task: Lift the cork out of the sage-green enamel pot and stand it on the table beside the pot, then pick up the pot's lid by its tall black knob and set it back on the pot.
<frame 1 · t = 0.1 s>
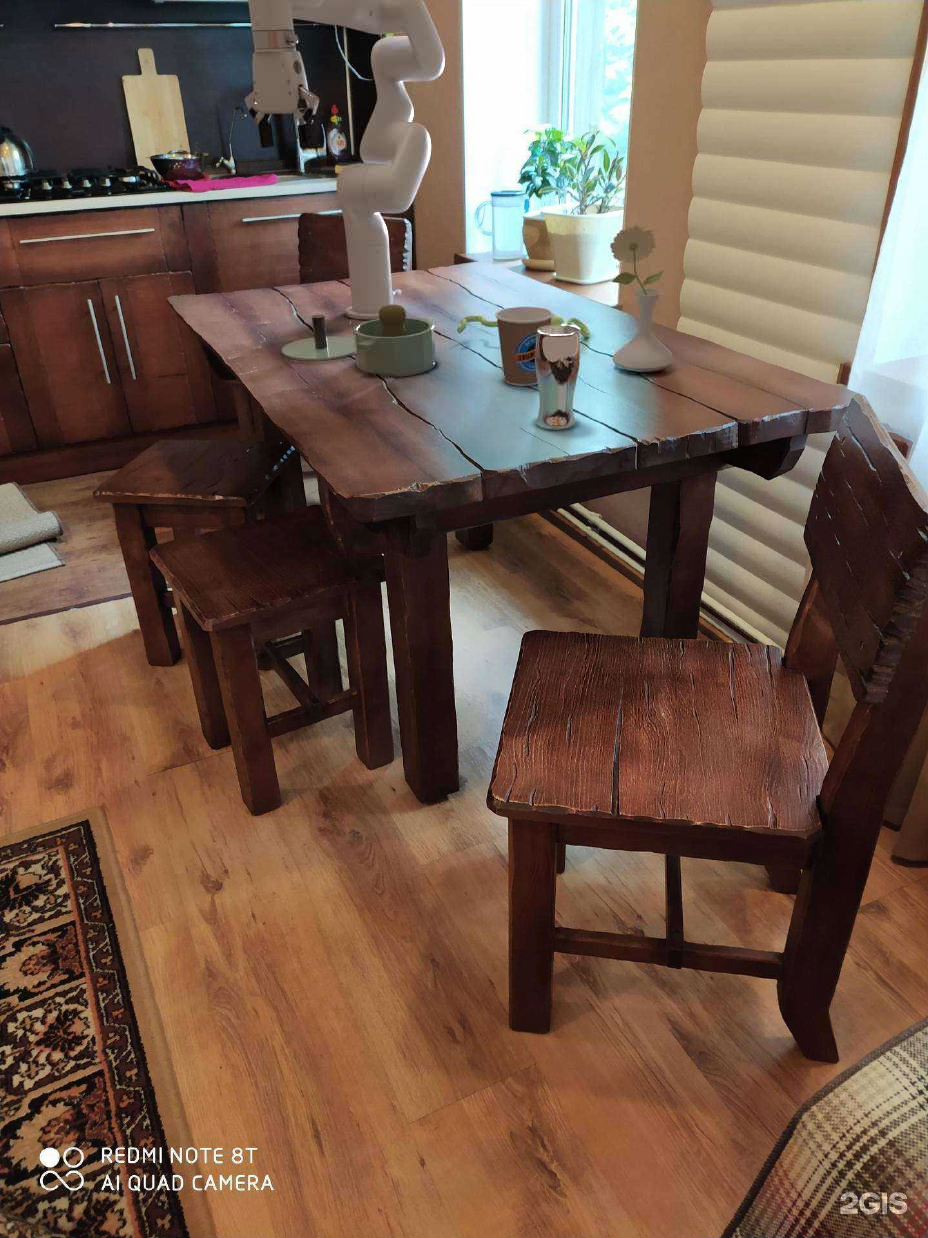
hand: (286, 147, 174), 37 cm above the table, tool pointing down, fingers open, 9 cm apart
cork: (396, 364, 176), resting on pot
beer glass: (555, 424, 146), on the table
pot: (396, 365, 176), on the table
coffee cup: (523, 381, 166), on the table
lid: (321, 349, 185), point 1 cm above the table
flower in vase: (637, 368, 170), on the table
figurine: (522, 342, 187), on the table
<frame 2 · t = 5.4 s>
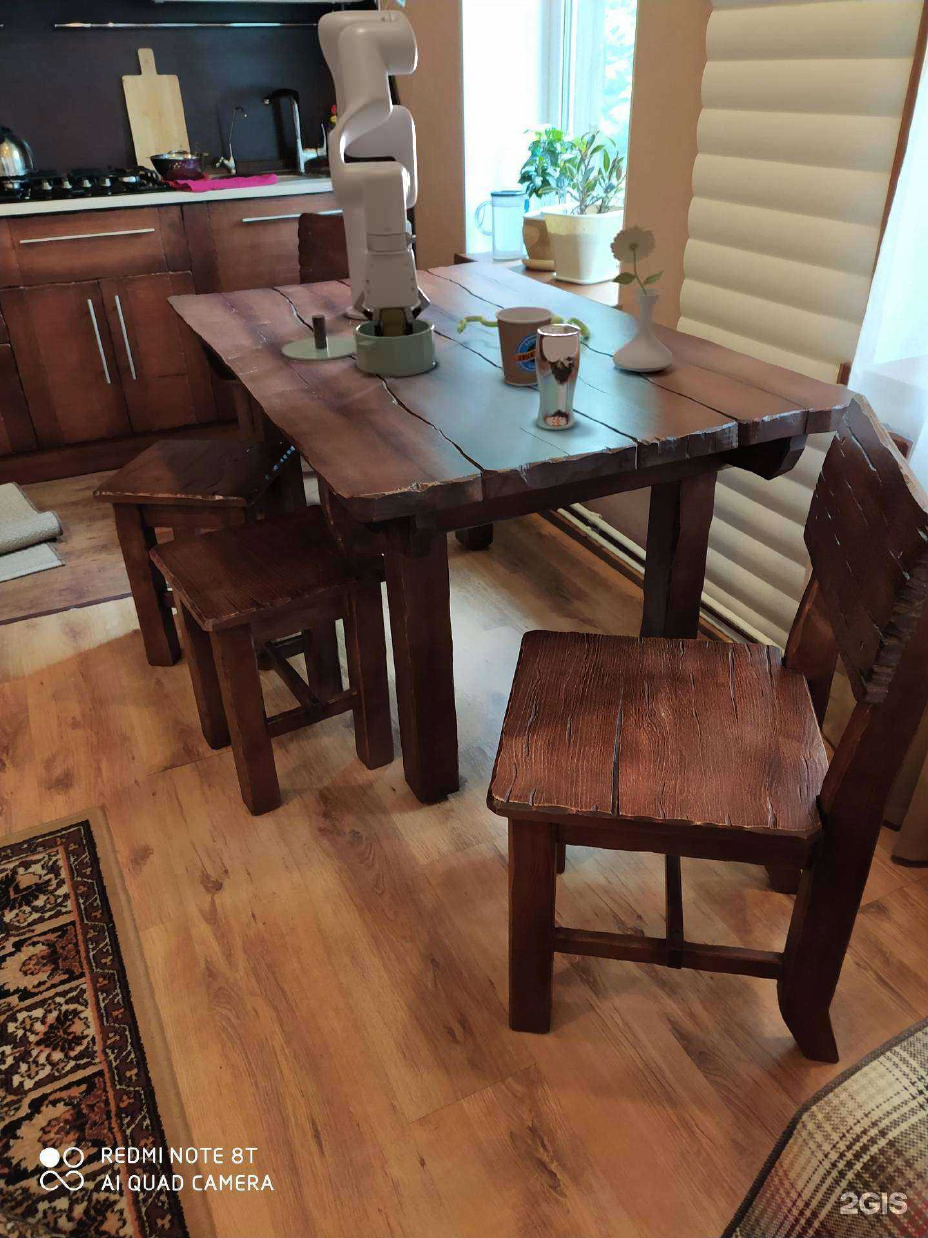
hand: (394, 342, 174), 4 cm above the table, tool pointing down, fingers closed on cork, 4 cm apart
cork: (396, 364, 176), resting on pot, touching gripper
everything else where it was.
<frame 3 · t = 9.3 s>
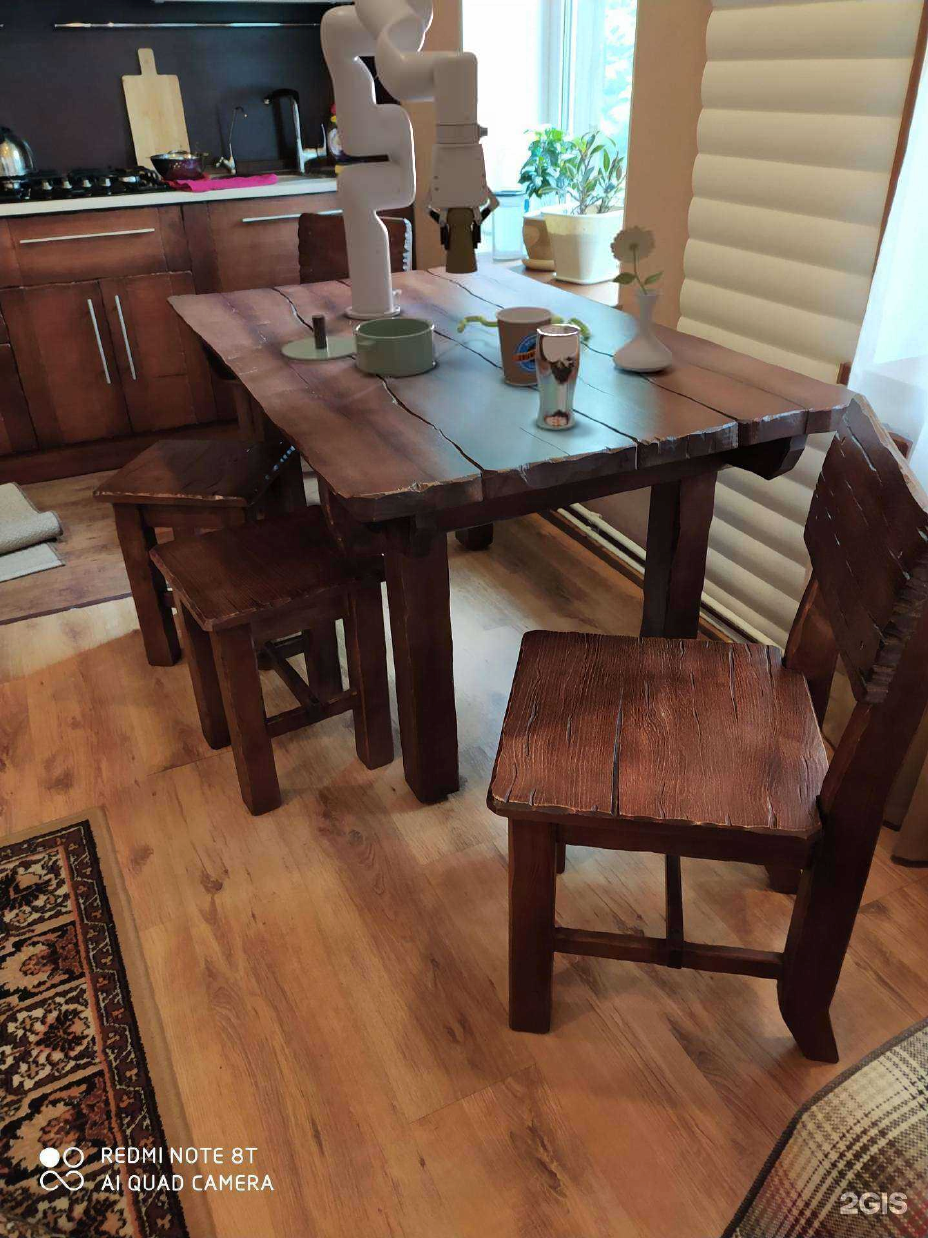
hand: (460, 247, 165), 21 cm above the table, tool pointing down, fingers closed on cork, 4 cm apart
cork: (461, 271, 167), point 17 cm above the table, touching gripper
everything else where it was.
when the fingers open (4 cm above the table, at t = 13.3 s): cork stays where it is, on the table.
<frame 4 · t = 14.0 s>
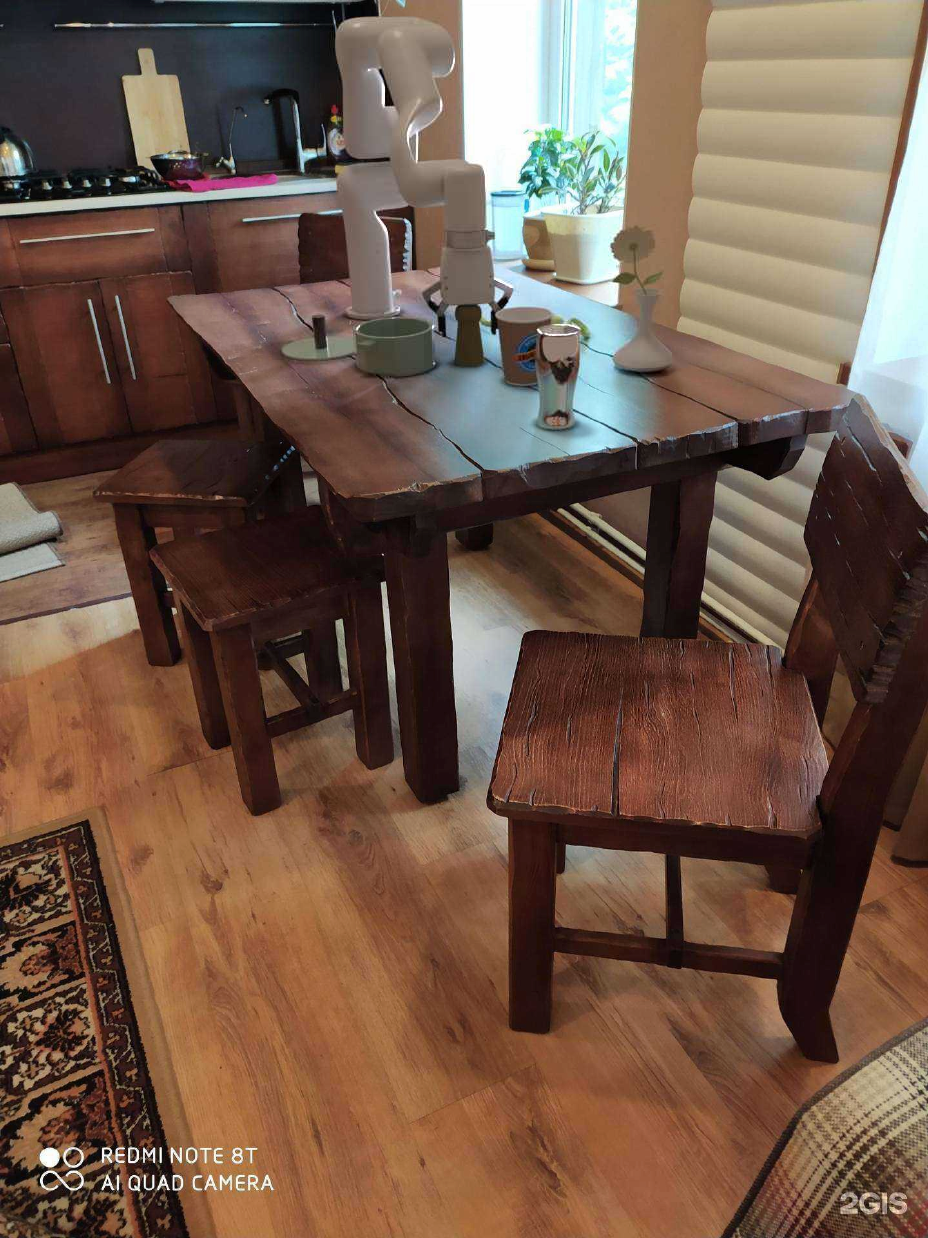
hand: (468, 334, 174), 5 cm above the table, tool pointing down, fingers open, 9 cm apart
cork: (469, 362, 176), on the table
everything else where it was.
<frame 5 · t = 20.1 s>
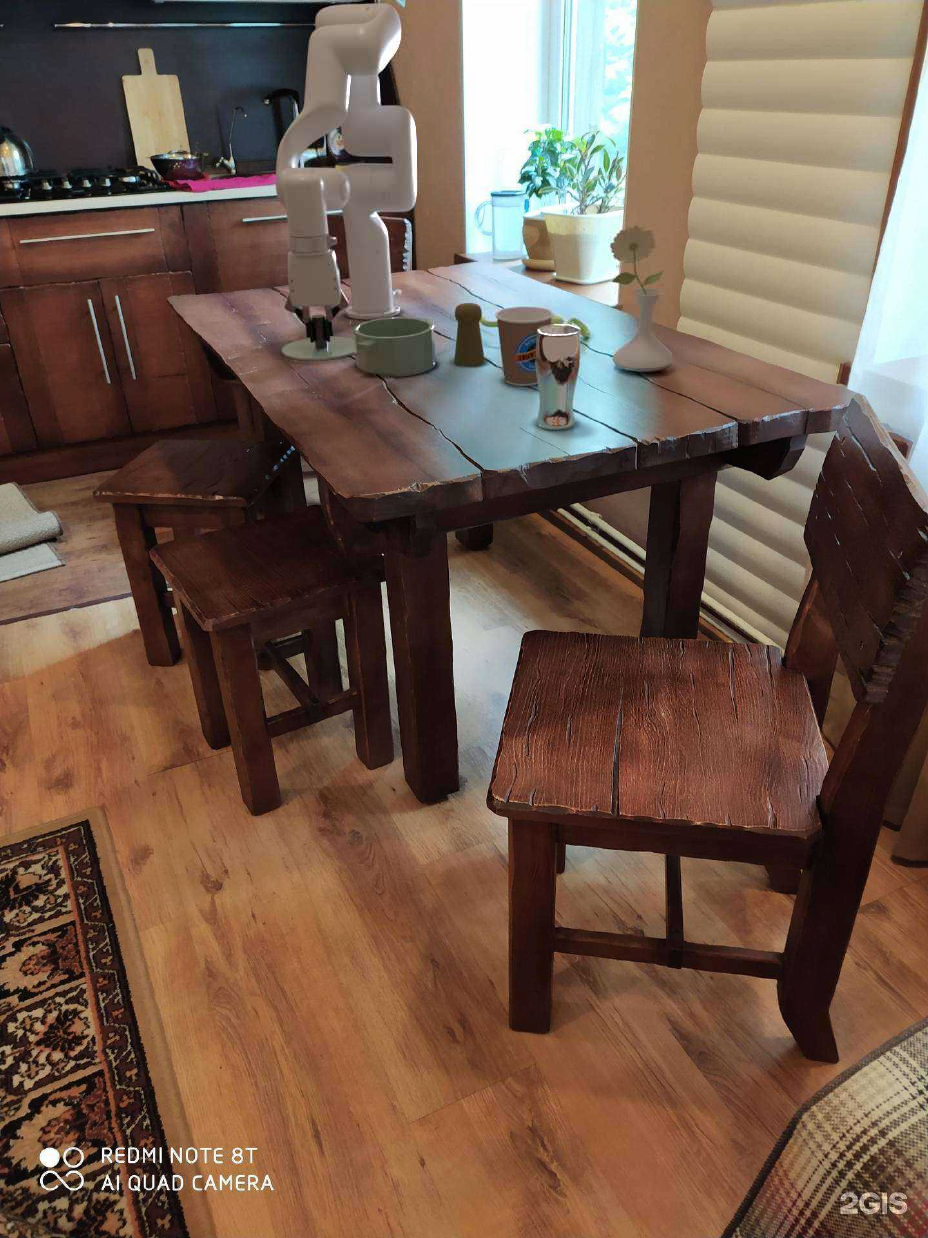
hand: (320, 339, 184), 3 cm above the table, tool pointing down, fingers closed on lid, 2 cm apart
lid: (321, 349, 185), point 1 cm above the table, touching gripper
everything else where it was.
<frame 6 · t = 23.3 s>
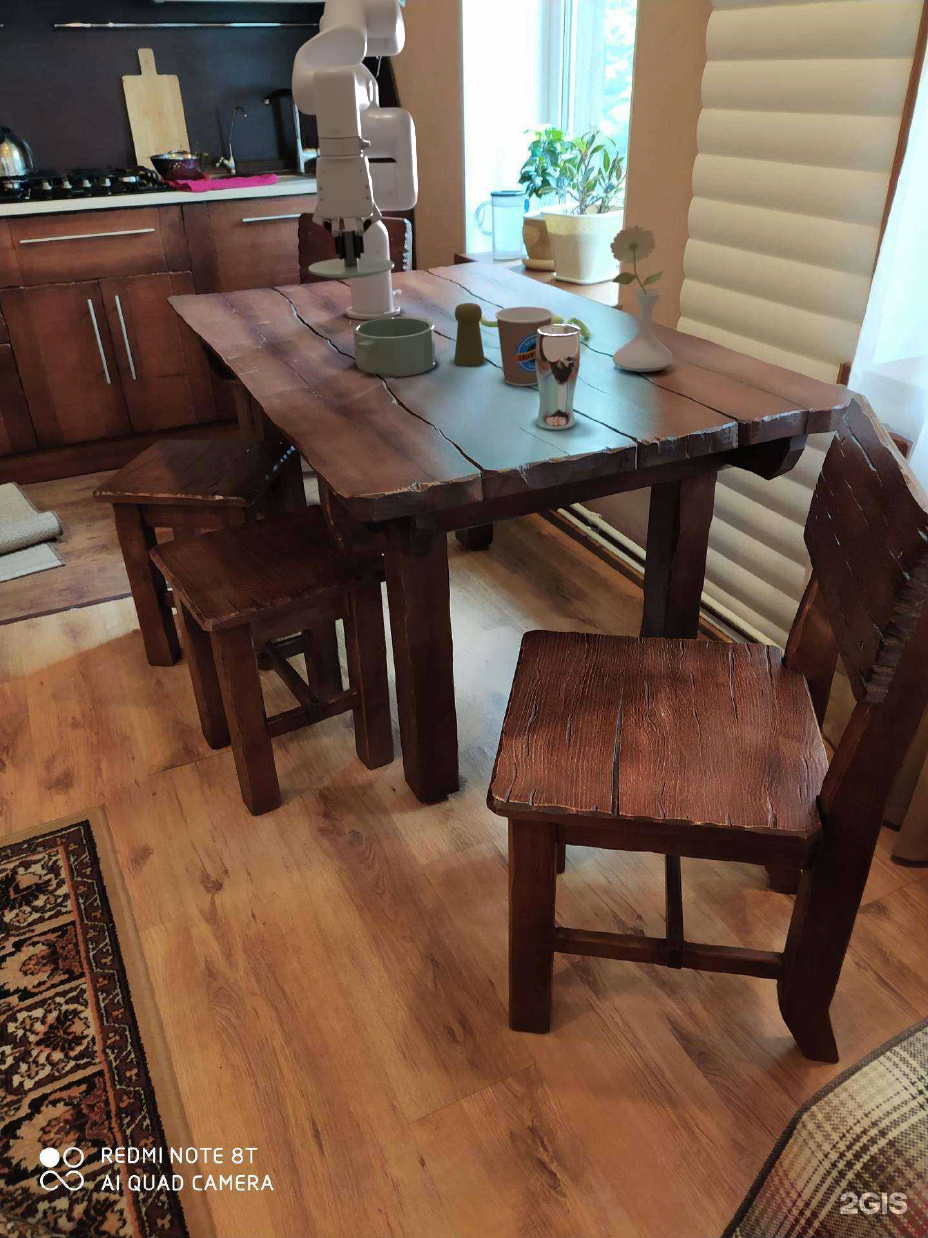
hand: (350, 256, 170), 19 cm above the table, tool pointing down, fingers closed on lid, 2 cm apart
lid: (351, 267, 171), point 17 cm above the table, touching gripper
everything else where it was.
when the fingers open (9 cm above the table, at t = 26.6 s): lid stays where it is, resting on pot.
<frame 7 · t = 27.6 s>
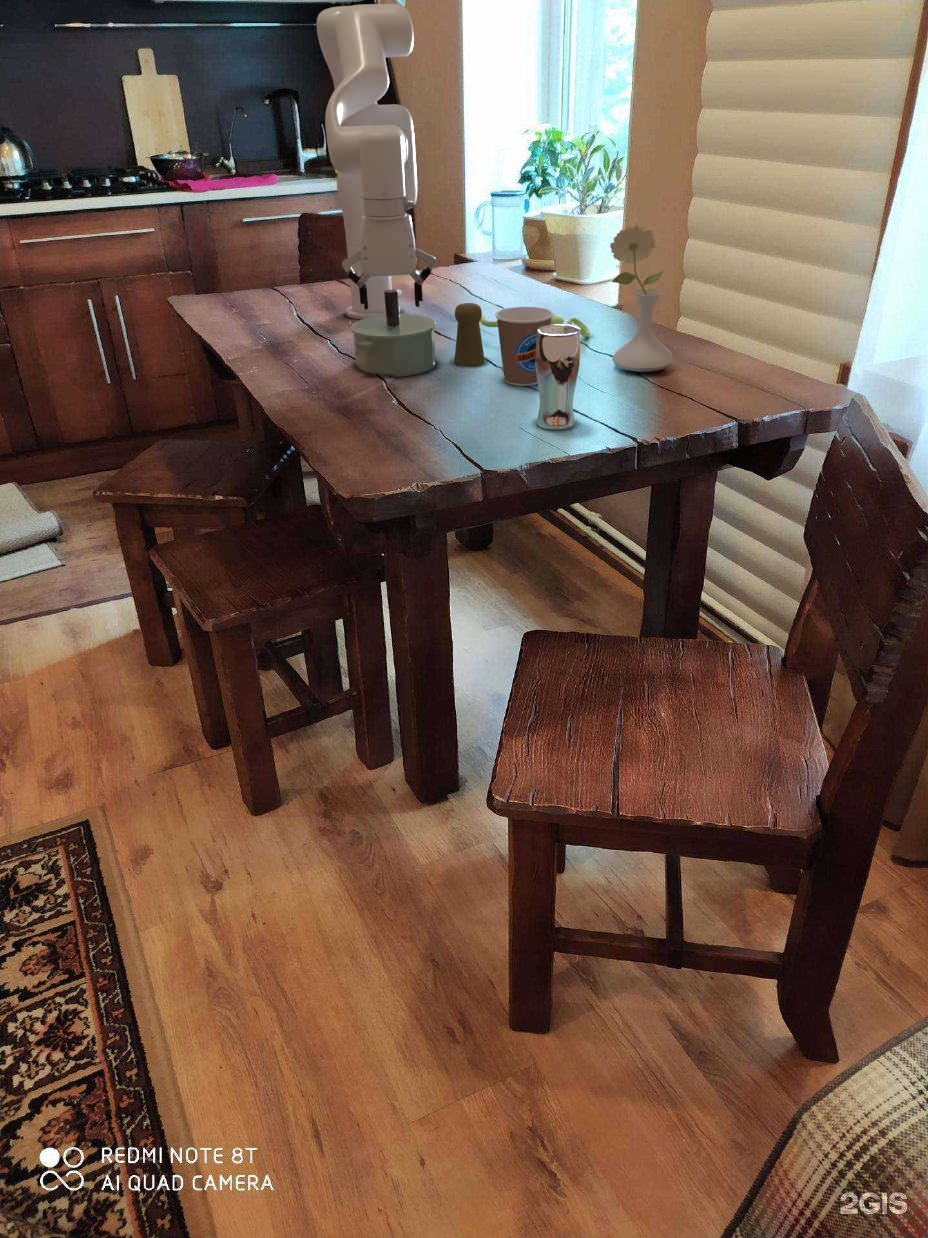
hand: (391, 306, 170), 11 cm above the table, tool pointing down, fingers open, 9 cm apart
lid: (393, 327, 172), point 7 cm above the table, touching pot
everything else where it was.
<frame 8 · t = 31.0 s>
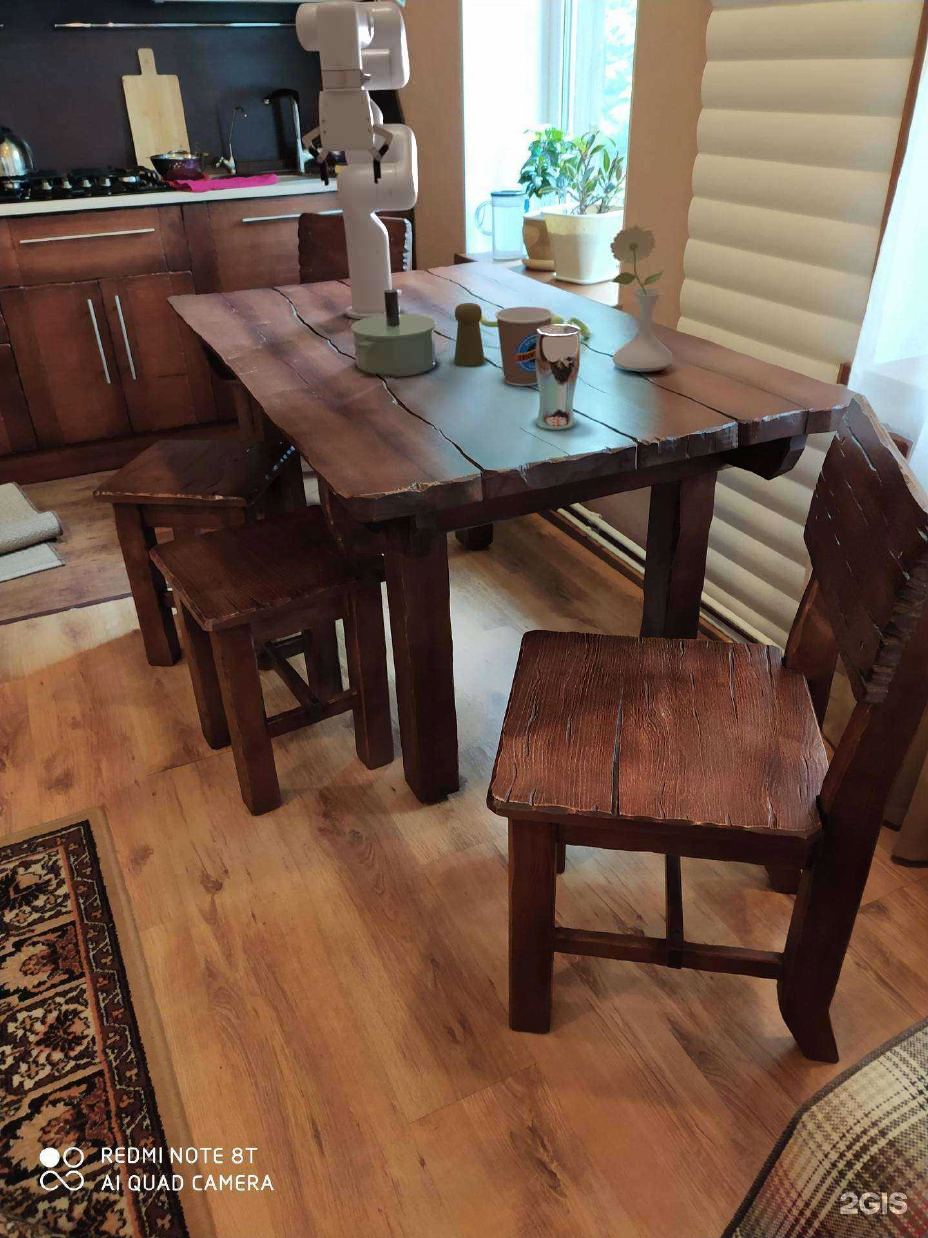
hand: (351, 183, 175), 30 cm above the table, tool pointing down, fingers open, 9 cm apart
nothing on the table moved.
at the end: cork inside the target area (0.0 cm from its centre), on the table; lid 0.0 cm off-centre on the pot, point 7.3 cm above the pot's base; lid tilted 0° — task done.
